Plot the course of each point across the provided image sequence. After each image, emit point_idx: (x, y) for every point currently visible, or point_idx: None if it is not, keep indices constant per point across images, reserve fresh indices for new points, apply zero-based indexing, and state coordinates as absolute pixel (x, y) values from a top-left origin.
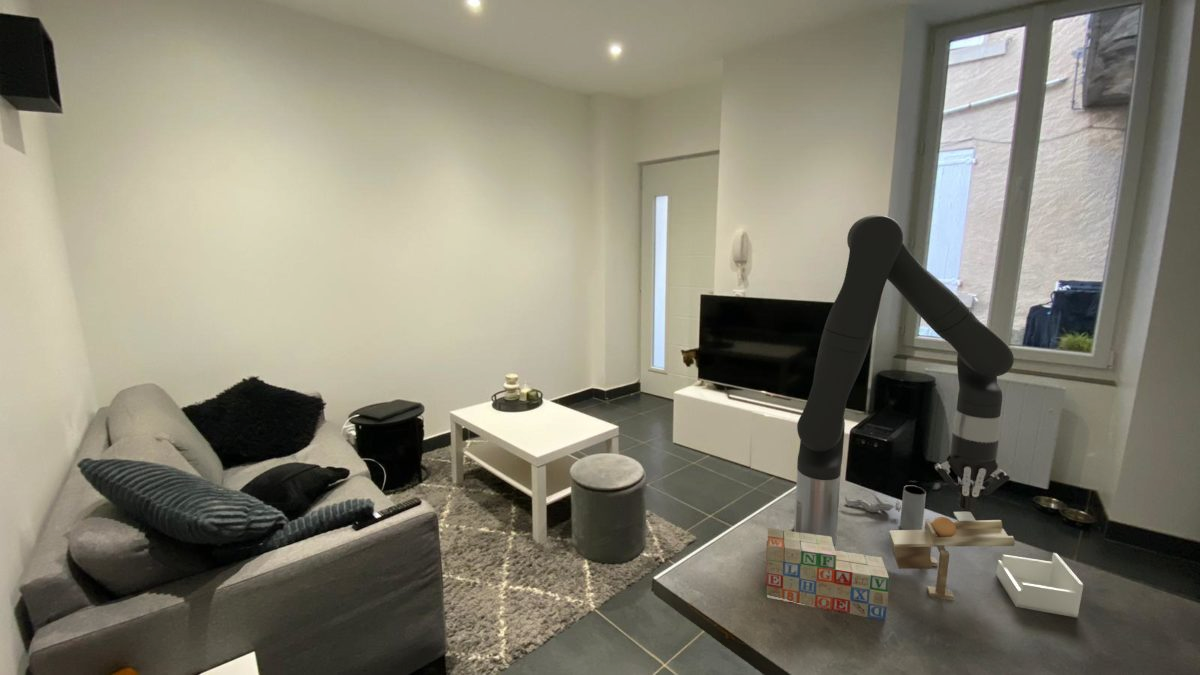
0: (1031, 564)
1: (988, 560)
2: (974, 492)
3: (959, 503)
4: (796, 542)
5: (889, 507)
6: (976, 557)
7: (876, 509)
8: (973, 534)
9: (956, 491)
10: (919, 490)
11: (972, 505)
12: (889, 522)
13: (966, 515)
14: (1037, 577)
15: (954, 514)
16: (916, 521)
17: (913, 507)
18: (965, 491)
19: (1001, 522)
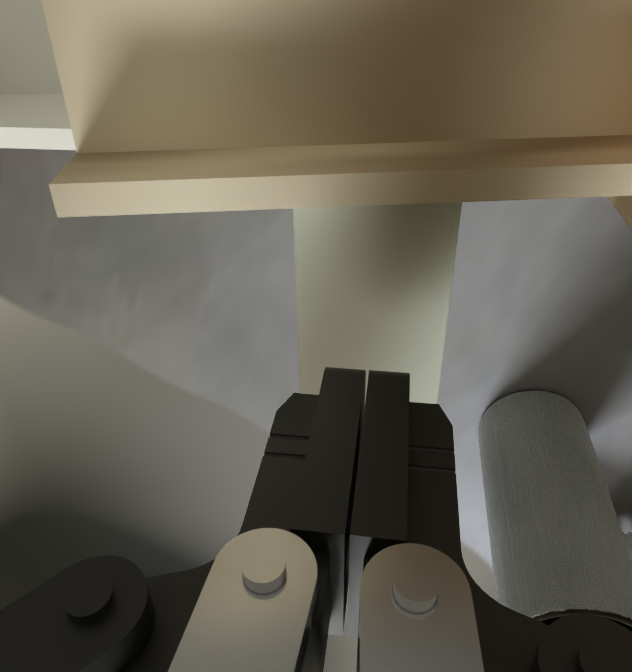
0: (24, 120)
1: (235, 240)
2: (275, 605)
3: (452, 455)
4: None
5: None
6: (285, 252)
7: None
8: (418, 6)
9: (576, 621)
10: None
11: (318, 422)
12: (622, 459)
13: None
14: (32, 99)
15: (432, 402)
16: (541, 443)
17: (588, 518)
18: (420, 624)
19: (57, 177)
